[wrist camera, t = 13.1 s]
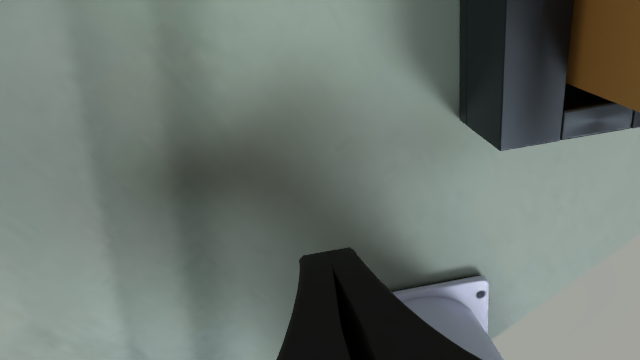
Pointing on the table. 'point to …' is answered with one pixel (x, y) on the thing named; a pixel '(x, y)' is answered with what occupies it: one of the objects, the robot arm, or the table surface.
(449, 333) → the robot arm
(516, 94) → the toaster
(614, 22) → the toast
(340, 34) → the table surface
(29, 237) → the table surface
